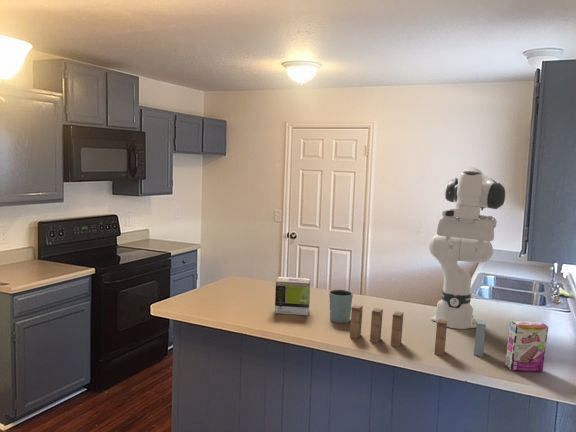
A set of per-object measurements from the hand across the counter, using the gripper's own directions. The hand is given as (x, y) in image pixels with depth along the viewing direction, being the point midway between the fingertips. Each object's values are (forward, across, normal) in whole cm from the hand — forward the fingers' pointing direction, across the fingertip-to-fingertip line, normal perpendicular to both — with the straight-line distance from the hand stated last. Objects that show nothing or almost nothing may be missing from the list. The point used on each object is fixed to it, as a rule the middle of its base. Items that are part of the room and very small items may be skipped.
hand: (463, 250), depth 184 cm
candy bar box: (+38, -24, +7) cm, 45 cm away
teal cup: (+37, +48, -8) cm, 61 cm away
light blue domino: (+37, -9, 0) cm, 38 cm away
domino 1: (+38, +36, +8) cm, 53 cm away
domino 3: (+38, +20, +8) cm, 43 cm away
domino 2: (+38, +28, +8) cm, 48 cm away
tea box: (+37, +70, -7) cm, 79 cm away
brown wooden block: (+38, +4, +7) cm, 39 cm away
